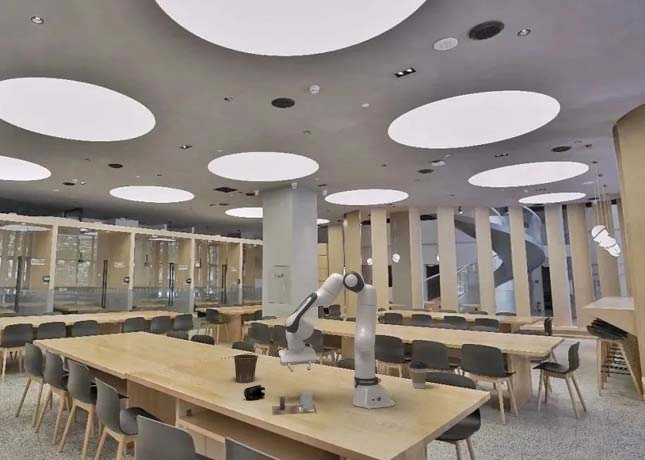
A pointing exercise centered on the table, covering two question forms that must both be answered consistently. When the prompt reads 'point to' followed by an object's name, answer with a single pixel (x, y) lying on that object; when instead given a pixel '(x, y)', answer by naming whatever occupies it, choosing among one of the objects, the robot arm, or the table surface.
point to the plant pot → (245, 367)
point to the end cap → (254, 393)
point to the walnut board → (289, 409)
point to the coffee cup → (418, 374)
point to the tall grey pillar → (306, 401)
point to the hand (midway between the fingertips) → (300, 370)
